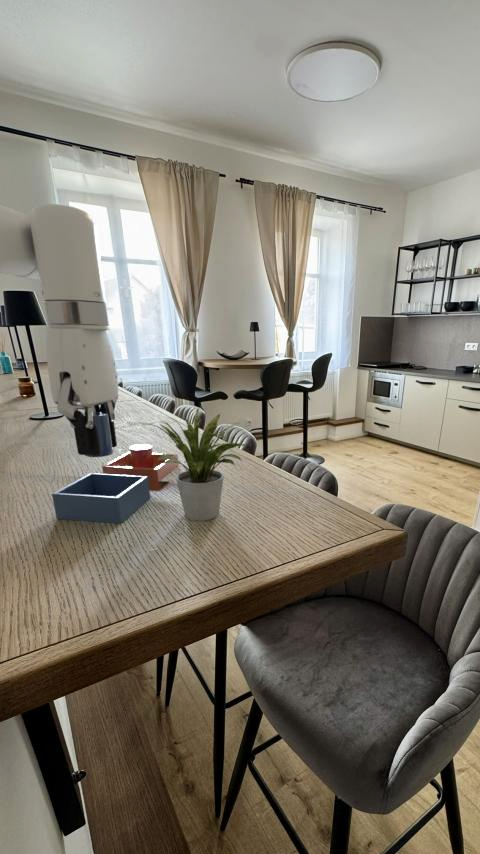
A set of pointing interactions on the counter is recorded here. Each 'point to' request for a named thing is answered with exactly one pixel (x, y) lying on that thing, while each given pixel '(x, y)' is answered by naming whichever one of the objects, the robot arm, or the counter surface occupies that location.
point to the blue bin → (101, 498)
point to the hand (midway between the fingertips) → (98, 449)
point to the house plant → (200, 469)
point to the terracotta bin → (143, 469)
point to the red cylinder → (142, 456)
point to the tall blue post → (102, 433)
